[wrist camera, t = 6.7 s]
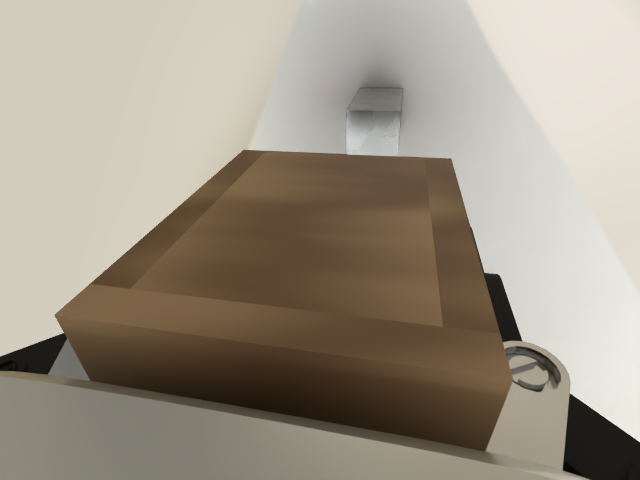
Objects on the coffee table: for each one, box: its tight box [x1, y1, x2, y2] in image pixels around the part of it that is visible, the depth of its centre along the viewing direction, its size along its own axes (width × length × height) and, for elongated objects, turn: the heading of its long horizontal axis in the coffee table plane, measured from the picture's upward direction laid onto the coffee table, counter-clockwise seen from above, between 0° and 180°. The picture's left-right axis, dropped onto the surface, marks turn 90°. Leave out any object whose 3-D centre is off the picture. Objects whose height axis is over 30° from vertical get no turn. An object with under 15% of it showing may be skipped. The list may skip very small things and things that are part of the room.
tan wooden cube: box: [55, 150, 513, 452], centre depth 9 cm, size 6×6×7 cm
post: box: [346, 88, 403, 156], centre depth 26 cm, size 3×3×8 cm
